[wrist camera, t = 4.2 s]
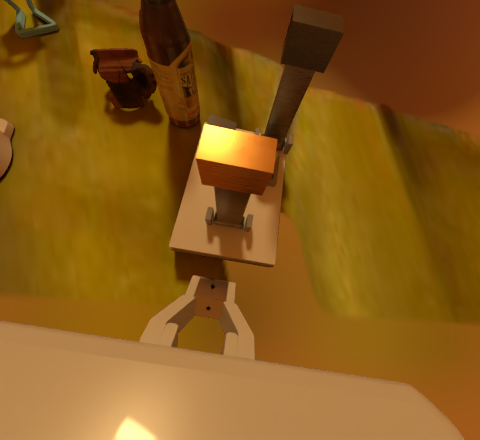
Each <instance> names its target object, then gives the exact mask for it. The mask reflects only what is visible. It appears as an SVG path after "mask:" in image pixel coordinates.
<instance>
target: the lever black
mask: <svg viewBox="0 0 480 440" xmlns="http://www.w3.org/2000/svg"><path fill="white" fill-rule="evenodd" d="M343 34H344V21H343V16H341V15H337V14H333V13H328V12H325V11H320V10H316V9H312V8H308V7H304V6H299V5H296V4H295V5H294V7H293V11H292V14H291V18H290V22H289V26H288V29H287V33H286V37H285V41H284V45H283V49H282V56H281V64H285V67H284V71H283V74H282V77H281V81H280V84H279V87H278V91H277V94H276V97H275V100H274V104H273V107H272V110H271V114H270V117H269V120H268V124H267V127H266V130H265V134H261V136H265V137H270V138H275V139H277V147H276V149H277V150H283V148H284V145H285V139H284V138H285V136H286V134H287V131H288V129H289V127H290V125H291V123H292V121H293V118H294V116H295V114H296V112H297V110H298V108H299V105H300V103H301V101H302V99H303V97H304V95H305V92H306V90H307V88H308V86H309V84H310V81H311V79H312V77H313V75H314V73H315V71H317V72H321V73H324V71H325V69H326V67H327V65H328V63H329V61H330V60H331V57H332V56H333V53H334V52H335V50H336V48H337V46H338V44H339V42H340V40H341V38H342V36H343Z"/></svg>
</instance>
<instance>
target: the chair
mask: <svg viewBox="0 0 480 440" xmlns="http://www.w3.org/2000/svg"><path fill="white" fill-rule="evenodd" d="M5 1H6V2H7V3H8V4H9V5H11V6H12V7H13V8H14V9H15V10H16V22H15V33H16V34H17V35H18V36H19V37H20V38H21V39H23V38H28V37H32V36H36V35H40V34H45V33H49V32H53V31H57V30H59V27H58V26H57V24H56V23H55V22H54V21H53V20H52V19H50V18H49V17H47V16H46V15H44V14H43V13H41V12H40V11H39V10H37V9H36V8H35V7H34V6H33V3H32V1H31V0H26V1H27V4H28V6H29V8H30V9H31V11H32V12H33V13H34V14H35V15H36V16H37V17H39V18H40V19H42V20H43V21H45V22H47V23H48V24H47V25H42V26H38V27H33V28H29V29H24V26H25V19H26V16H25V13H24V12H23V11H22V10H21V8H20V7H18V6H17V5H16V4H15V3H14V2H12V1H11V0H5Z"/></svg>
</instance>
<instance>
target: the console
mask: <svg viewBox="0 0 480 440" xmlns="http://www.w3.org/2000/svg"><path fill="white" fill-rule="evenodd" d="M205 124H207V122H204V125H203V129H202V132H201V136H200V139H199V143H198V146H197V150H196V153H195V157H194V160H193V164H192V167H191V171H190V174H189V178H188V181H187V185H186V188H185V192H184V195H183V198H182V202H181V205H180V209H179V212H178V216H177V219H176V223H175V226H174V230H173V233H172V237H171V240H170V244H169V247H171V250H173V251H177V252H183V253H189V254H194V255H200V256H206V257H212V258H218V259H224V260H229V261H235V262H241V263H247V264H253V265H259V266H265V267H273V265H275V263H276V251H277V241H278V231H279V230H278V229H279V220H280V210H281V199H282V188H283V178H284V167H285V157H286V154H288V152H289V150H290V148H291V146H292V145H293V135H290V134H289V136H288V138H287V139H285V138H284V139H285V145H284V148H283V150H277V149H276V151H277V153H278V157H277V159H276V161H275V165H274V173H273V175H272V177H271V179H270V181H269V183H268V185H267V187H266V189H265V191H264V193H263V195H262V196H260V195H255V194H251V195H250V198H249V201H248V204H247V206H246V209H245V212H244V215H243V216H245V220H244V225H243V229H238V228H233V227H227V226H222V225H216V224H214V216H215V212H216V201H215V191H214V187H213V186H207V185H202V183H201V179H200V175H199V170H198V166H197V162H196V154H197V151H198V147H199V144H200V140H201V137H202V133H203V130H204V126H205ZM236 131H241V132H246V133H251V134H255V135H260V136H261V134H260V128H256V129H255V132H251V131H246V130H241V129H236Z"/></svg>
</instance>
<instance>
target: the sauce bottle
mask: <svg viewBox="0 0 480 440" xmlns="http://www.w3.org/2000/svg"><path fill="white" fill-rule="evenodd" d="M139 13H140V14H139V25H140V30H141V34H142V37H143V40H144V43H145V46H146V49H147V55H148V58H149V61H150V64H151V67H152V70H153V73H154V76H155V79H156V82H157V85H158V88H159V91H160V94H161V97H162V100H163V103H164V106H165V109H166V112H167V114H168V115H169V118H170V120H171V121H172V123H173V124H175V125H176V126H179V127H191V126H193V125H194V124H196V123H197V121H198V120H199V118H200V112H199V111H200V106H199V99H198V91H197V84H196V76H195V68H194V61H193V53H192V46H191V39H190V36H189V33H188V31H187V28H186V26H185V23H184V21H183V18H182V15H181V13H180V10H179V8H178V5H177V3H176V0H141V9H140V11H139Z"/></svg>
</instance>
